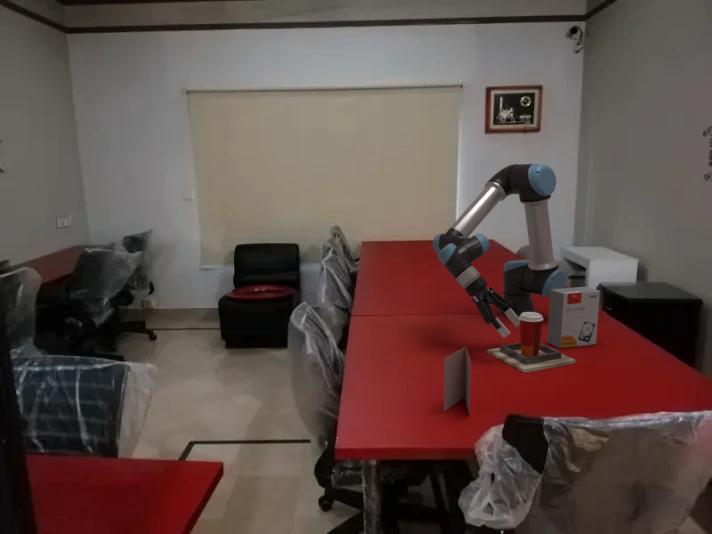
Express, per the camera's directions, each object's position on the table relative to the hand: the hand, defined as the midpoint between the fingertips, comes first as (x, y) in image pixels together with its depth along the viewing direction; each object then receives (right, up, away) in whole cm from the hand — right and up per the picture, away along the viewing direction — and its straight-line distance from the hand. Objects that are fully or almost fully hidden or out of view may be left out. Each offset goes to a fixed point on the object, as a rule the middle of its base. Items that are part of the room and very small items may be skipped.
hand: (513, 330), depth 187 cm
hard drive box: (+24, -6, +12) cm, 28 cm away
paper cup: (+5, -8, -2) cm, 10 cm away
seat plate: (+5, -9, -1) cm, 11 cm away
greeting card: (-24, -17, -36) cm, 47 cm away
